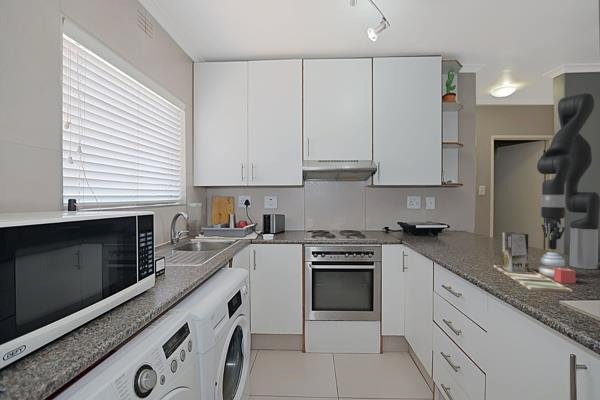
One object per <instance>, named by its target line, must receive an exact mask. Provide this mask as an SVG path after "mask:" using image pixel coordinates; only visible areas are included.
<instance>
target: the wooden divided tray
mask: <svg viewBox="0 0 600 400" xmlns="http://www.w3.org/2000/svg"><path fill="white" fill-rule="evenodd" d="M493 267H494V268H495V269H496V270H498V271H500V272H502V273H503V274H505V275H506V276H508V277H509V278H511V279H513V280H514V281H515V282H517V283H518V282H519V283H518V284H520V285H521V286H523V287H525V288H526V289H528V290H530V291H541V292H543V291H545V292H546V291H547V292H560V293H561V292H563V293H573V289H571V288H569V287H567V286H565V285H563V284H561V283H560V282H558V281H556V280H554V279H552V278H549V277H548V276H545V275H541V274H539V273H538V271H535V270H533V269H531V268H529V267H528V272H512V271H507V270H505V269H503V264H500V265H499V264H493Z"/></svg>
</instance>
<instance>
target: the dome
mask: <svg viewBox="0 0 600 400" xmlns="http://www.w3.org/2000/svg"><path fill="white" fill-rule="evenodd" d="M565 261H566V260H565V258H563V256H562V255H560V254H559V252H553V251H547V252H545V253H544V254H543V255H542V256H540V264H541V265H542V266H552V267H565Z"/></svg>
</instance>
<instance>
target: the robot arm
mask: <svg viewBox="0 0 600 400" xmlns="http://www.w3.org/2000/svg"><path fill="white" fill-rule="evenodd" d="M557 103H558V104H557V113H558V119H559V124H560V129H559V130H558V131H557V132H556V133H555V134H554V136H553V138H552V141H551V143H550V145H549V147H548V148H547V149H546V150H545V152H544V153H543V154H542V155H540V158H539V159H538V161H537V164H536V169H537V171H538V173H540V174H542V175H555V176H554V177H553V178H551V179H547V180H544V181H543V182H542V189H541V191H542V193H541V202H540V204H541V206H540V207H541V208H540V209H541V210H540V217H541V218H544V219H545V221H544V224H542V225H541V227H542V231H543V234H544V237H545V238H547V239H546V240H548V244H547V245H548V247H547V248H548V250H553V251H556V250H557V245H558V243H557V242H558V240H561V238H562V236H563V234H564V232H565V230H566V228H565V227H562V222H561V219H565V218H566V209H567V211H568V212H570V213H575V214H576V213H577V214H578V213H579V214H583V213H584V214H586V215H585V216H584V217H583V218H580V219H575V220H572V221H571V222H570V225H569V227H570V230H569V234H570V235H569V240H570V241H569V266H570V267H573V268H577V269H582V270H583V269H585V270H597V269H598V268H599V267H598V266H599V222H600V195H599V193H598V192H595V191H578V187H579V182H580V181H581V179H582V177H583V176H584V174H585V173H586V172H587V170H588V169H589V167H590V166H591V165H592V161H593V158H592V157H593V155H592V147H591V145H590V143H589V142H588V141H587V140H586V138H584V137H583V135H582V134H580V133H579V132H580V131H581V130H582V128H583V127H584V125H585V124H586V123H587V121H588V119H589V118H590V116H591V115H592V113H593V111H594V109H595V99H594V97H593V95H592V94H591V93H588V92H586V93H579V94H575V95H570V96H566V97H562V98H561V99H560V100H559V101H558V102H557Z"/></svg>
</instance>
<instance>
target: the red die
mask: <svg viewBox="0 0 600 400" xmlns="http://www.w3.org/2000/svg"><path fill="white" fill-rule="evenodd" d="M576 273H577V272H576V270H573V269H570V268H568V267H567V268H566V267H559V268H554V277H553V278H554V279H553V281H555V282H557V283H559V284H561V283H562V284H576Z"/></svg>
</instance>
